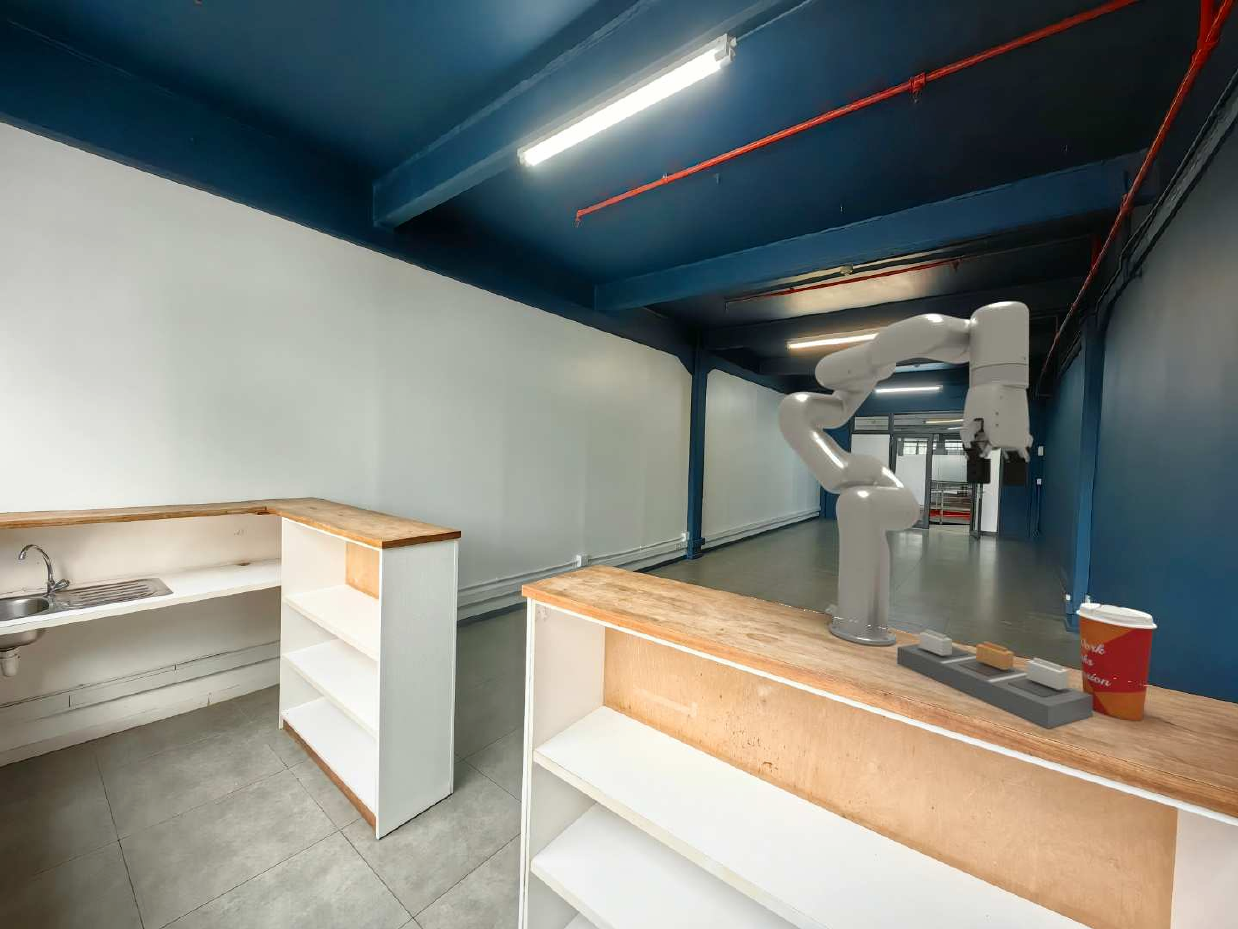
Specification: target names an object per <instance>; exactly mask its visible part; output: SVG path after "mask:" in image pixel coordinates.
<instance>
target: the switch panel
mask: <svg viewBox="0 0 1238 929" xmlns="http://www.w3.org/2000/svg"><path fill="white" fill-rule="evenodd" d="M896 656H897V657H896V664H898V665H900V666H902V667H904V668H907V669H908V670H911V671H913V672H914V673H915V672H916V673H918V674H920V675H922V676H925V677H928V678H930V679H932V680H934V681H936V682H938V683H940V684H941V683H942V684H944V685H946V686H949V687H950V688H952V687H953V689H955V688H956V689H955V690H957V691H959V690H960V691H959V692H962V693H963V694H966V693H967V694H966V695H969V696H971V697H974V698H975V699H978V700H980V701H983V702H984V703H985V702H986V703H988V704H989V705H992V706H995V707H997V708H998V709H1002V710H1004V711H1006V712H1008V713H1011V714H1013V715H1015V716H1017V717H1020V718H1021V719H1025V720H1026V721H1029V722H1032V723H1034V724H1036V725H1038V726H1041V727H1043V728H1045V729H1048V730H1050V729H1052V728H1053V729H1054V728H1056V727H1059V726H1062V725H1066V724H1070V723H1073V722H1077V721H1081V720H1084V719H1087V718H1092V717H1093V710H1092V708H1093V695H1090V694H1087V693H1085V692H1083V690H1080V689H1079V690H1078V689H1076V688H1072V687H1070V686H1069V687H1068V688H1065V689H1060V690H1058V689H1055V688H1052V687H1049V686H1047V685H1044V684H1041V683H1038V682H1036V681H1033V680H1030V679H1027V678H1026V671H1025V670H1022V669H1019V668H1016V667H1014V666H1013V668H1011V669H1006V670H1002V669H1000V668H997V667H994V666H991V665H989V664H986V663H983V662H980V661H978V660H976V653H974V652H971V651H968V650H966V649H962V648H959V647H957V646H954V645H952V654H949V655H943V656H942V655H939V654H936V653H934V652H931V651H929V650H926V649H923V648H921V647H919V643H917V644H916V643H915V644H914V643H913V644H909V645H901V646H900V645H899V646H897V655H896Z"/></svg>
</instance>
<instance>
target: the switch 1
mask: <svg viewBox="0 0 1238 929" xmlns="http://www.w3.org/2000/svg"><path fill="white" fill-rule="evenodd" d="M918 635H919V636H918V637H919V639H918V644H919V647H921V648H923V649H926V650H929V651H931V652H934V653H936V654H939V655H942V656H943V655H949V654H952V646H953V639H952V638H948V637H947V635H945V634H943V633H939V632H936V631H934V630H931V629H925V631H923V632H919V634H918Z"/></svg>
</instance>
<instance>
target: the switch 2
mask: <svg viewBox="0 0 1238 929" xmlns="http://www.w3.org/2000/svg"><path fill="white" fill-rule="evenodd" d="M975 651H976V653H975V654H976V660H978V661H980V662H983V663H986V664H989V665H991V666H994V667H997V668H1000V669H1002V670H1006V669H1011V668H1013V667H1014V655H1015V654H1014V652H1013V651H1010V650H1008V647H1007V648H1006V647H1004V646H1001V645H998V644H996V643H995V644H994V643H991V642H988V641H982V643H980V644H977V645H976V650H975ZM989 651H990V652H989Z"/></svg>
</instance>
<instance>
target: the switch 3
mask: <svg viewBox="0 0 1238 929" xmlns="http://www.w3.org/2000/svg"><path fill="white" fill-rule="evenodd" d="M1040 662H1042V663H1040ZM1025 666H1026V668H1025V670H1026V671H1025V672H1026V678H1027V679H1030V680H1033V681H1036V682H1038V683H1041V684H1044V685H1047V686H1049V687H1052V688H1055V689H1058V690H1060V689H1065V688H1068V687H1070V686H1069V682H1070V670H1069V669H1065V668H1063V666H1062V665H1060V664H1056V663H1053V662H1050V661H1047V660H1044V659H1041V658H1038V657H1033V659H1032V660H1029V661H1026V665H1025ZM1058 666H1059V667H1058Z"/></svg>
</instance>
